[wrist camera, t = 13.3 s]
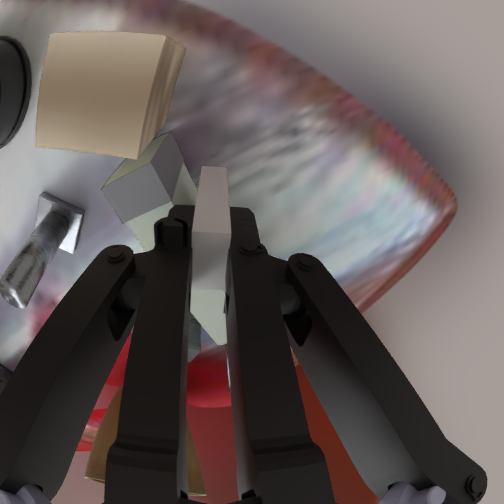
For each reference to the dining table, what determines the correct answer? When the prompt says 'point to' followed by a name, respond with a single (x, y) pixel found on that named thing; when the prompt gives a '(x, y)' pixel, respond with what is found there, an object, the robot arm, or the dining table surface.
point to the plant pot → (108, 437)
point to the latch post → (41, 248)
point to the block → (106, 91)
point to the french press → (13, 87)
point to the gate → (162, 212)
